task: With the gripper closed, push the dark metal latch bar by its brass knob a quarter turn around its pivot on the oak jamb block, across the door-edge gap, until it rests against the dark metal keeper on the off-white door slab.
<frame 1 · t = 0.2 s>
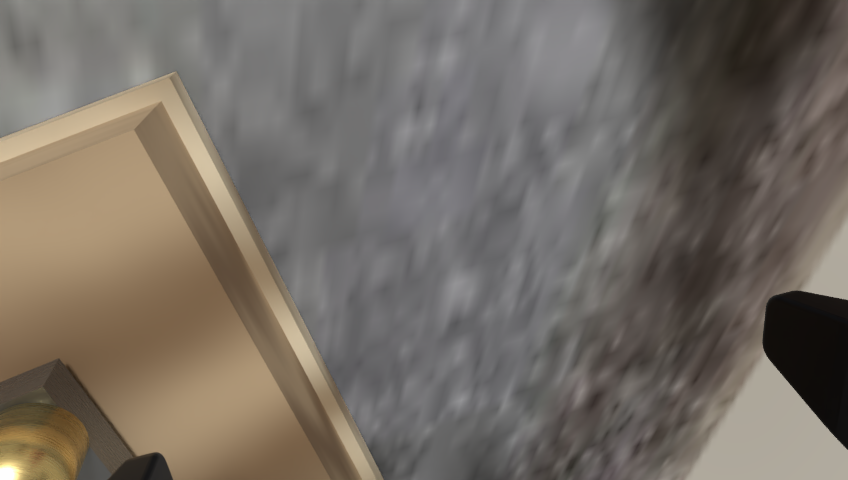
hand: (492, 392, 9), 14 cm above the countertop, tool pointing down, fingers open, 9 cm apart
door and jamb: (84, 461, 23), on the countertop
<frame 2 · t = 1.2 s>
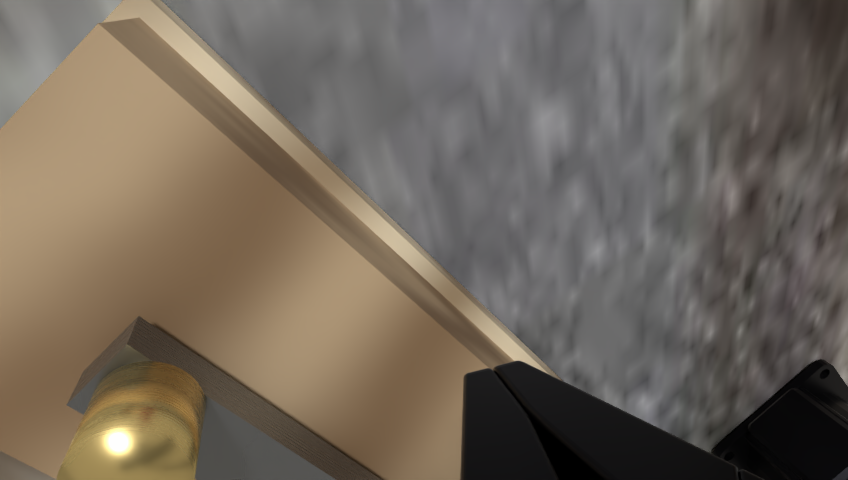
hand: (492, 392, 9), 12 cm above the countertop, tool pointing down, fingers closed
door and jamb: (239, 438, 22), on the countertop
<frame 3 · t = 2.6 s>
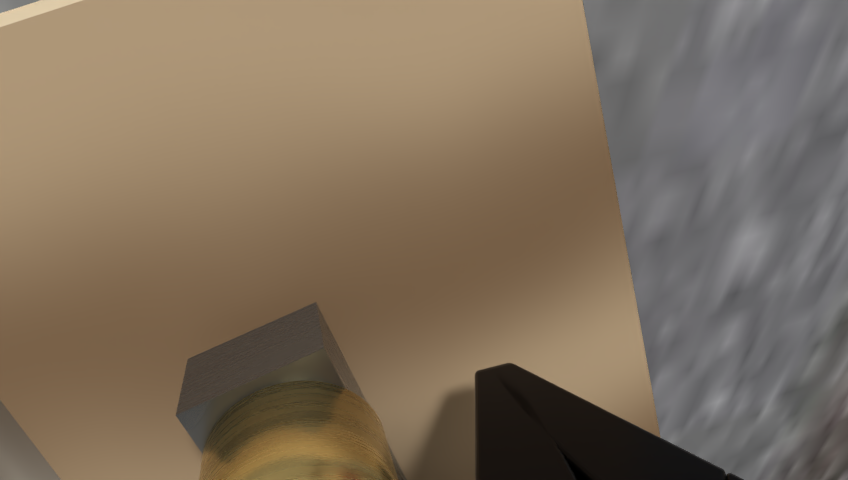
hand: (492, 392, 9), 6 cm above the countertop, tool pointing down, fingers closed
door and jamb: (235, 475, 16), on the countertop
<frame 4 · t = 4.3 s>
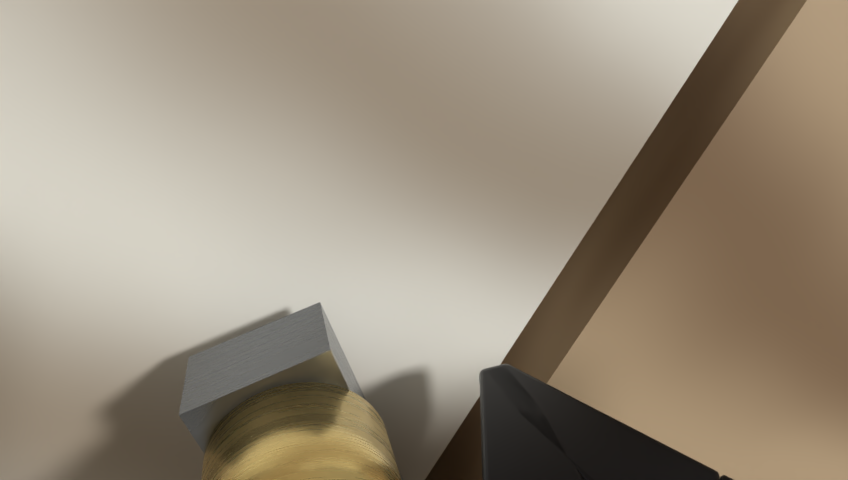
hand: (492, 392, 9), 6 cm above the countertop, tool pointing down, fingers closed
door and jamb: (386, 361, 16), on the countertop
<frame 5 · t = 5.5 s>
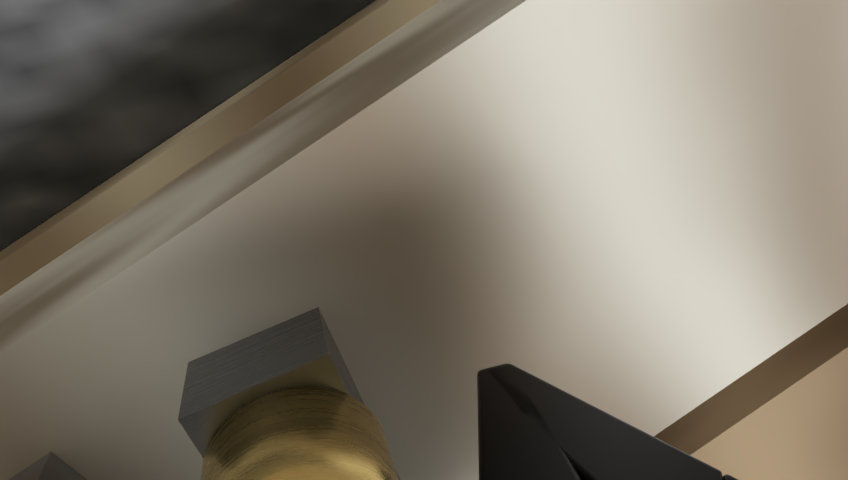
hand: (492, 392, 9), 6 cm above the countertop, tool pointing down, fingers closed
door and jamb: (498, 362, 17), on the countertop
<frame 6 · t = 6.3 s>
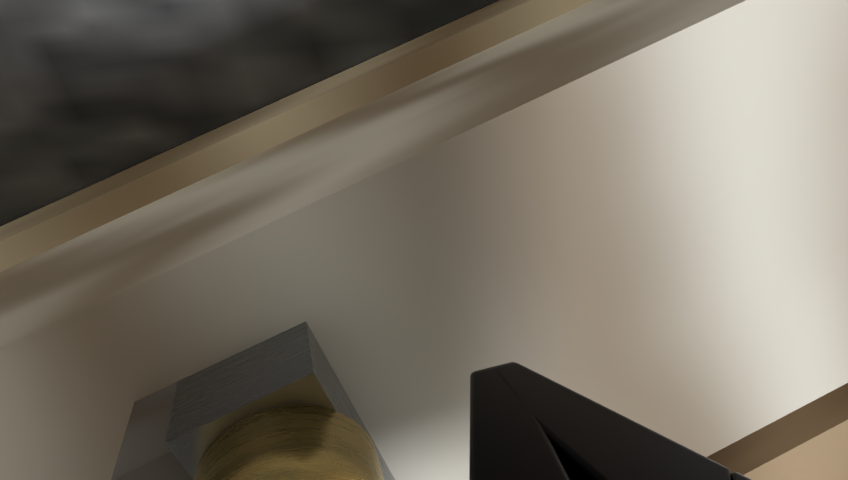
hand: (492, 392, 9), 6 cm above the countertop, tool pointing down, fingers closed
door and jamb: (542, 366, 17), on the countertop
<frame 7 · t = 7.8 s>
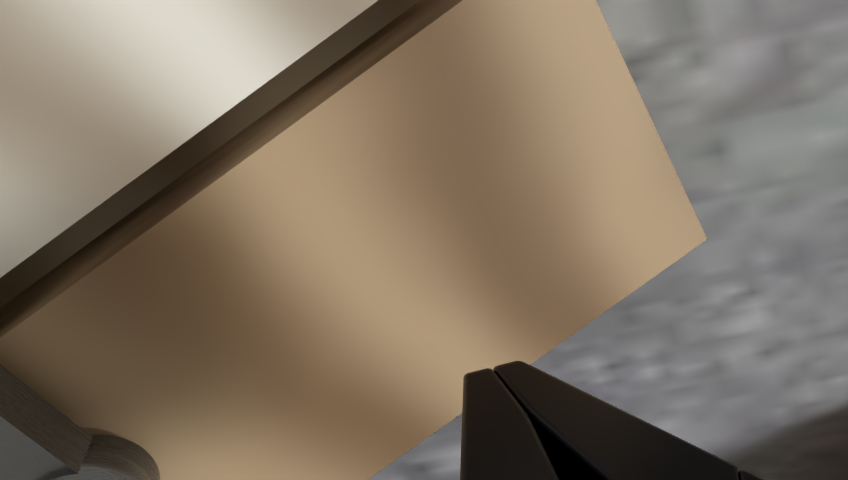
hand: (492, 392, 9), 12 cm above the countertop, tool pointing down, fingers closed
door and jamb: (179, 168, 18), on the countertop
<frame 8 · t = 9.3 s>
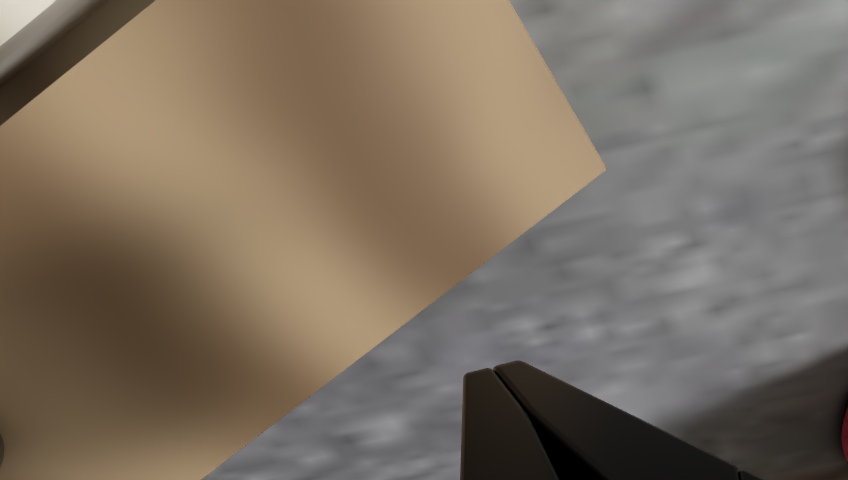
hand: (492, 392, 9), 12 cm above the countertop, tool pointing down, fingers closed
door and jamb: (44, 117, 17), on the countertop
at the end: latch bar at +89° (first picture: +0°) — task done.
